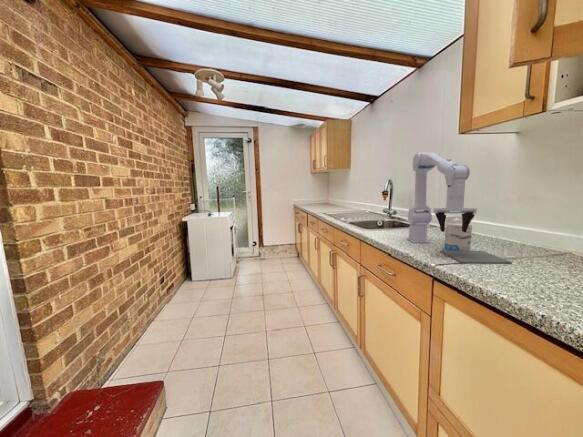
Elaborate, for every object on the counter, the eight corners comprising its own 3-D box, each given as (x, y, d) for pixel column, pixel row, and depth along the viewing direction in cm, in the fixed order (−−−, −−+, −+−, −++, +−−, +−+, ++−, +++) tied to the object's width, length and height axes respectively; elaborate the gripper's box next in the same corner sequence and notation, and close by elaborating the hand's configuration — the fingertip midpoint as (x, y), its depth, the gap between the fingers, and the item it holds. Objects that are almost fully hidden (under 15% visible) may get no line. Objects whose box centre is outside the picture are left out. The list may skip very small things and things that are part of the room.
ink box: (449, 251, 108) (451, 217, 106) (443, 248, 113) (445, 216, 111) (470, 251, 107) (473, 217, 105) (464, 249, 112) (466, 216, 110)
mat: (439, 251, 108) (439, 250, 108) (481, 252, 106) (481, 250, 106) (461, 263, 92) (462, 261, 92) (511, 263, 90) (512, 262, 90)
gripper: (438, 197, 96) (436, 232, 97) (481, 197, 93) (479, 233, 94) (432, 196, 102) (430, 229, 104) (472, 196, 99) (470, 230, 101)
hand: (453, 231), depth 100 cm, fingers open, 7 cm apart
